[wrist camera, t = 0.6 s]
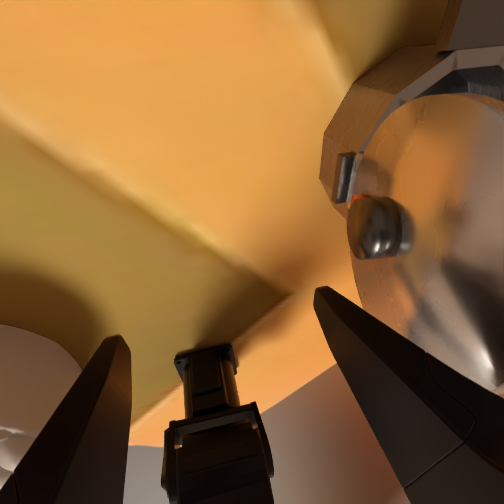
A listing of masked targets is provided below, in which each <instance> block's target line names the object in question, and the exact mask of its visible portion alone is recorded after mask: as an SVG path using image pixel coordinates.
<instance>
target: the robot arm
mask: <svg viewBox="0 0 504 504" xmlns="http://www.w3.org/2000/svg"><path fill="white" fill-rule="evenodd" d="M313 306H314V310H315V312H316V315H317V318H318V320H319V323H320V325H321V328H322V330H323V333H324V335H325V338H326V341H327V343H328V345H329V348H330V350H331V352H332V354H333V356H334V358H335V360H336V362H337V364H338V366H339V368H340V369H341V371H342V373H343V375H344V377H345V379H346V381H347V383H348V385H349V386H350V388H351V390H352V392H353V394H354V396H355V398H356V400H357V402H358V404H359V406H360V407H361V409H362V411H363V413H364V415H365V417H366V419H367V421H368V423H369V425H370V427H371V428H372V430H373V432H374V434H375V436H376V438H377V440H378V442H379V444H380V446H381V447H382V449H383V451H384V453H385V455H386V457H387V459H388V461H389V463H390V464H391V466H392V468H393V470H394V472H395V474H396V476H397V477H398V480H399V482H400V484H401V485H402V487H403V488H404V492H405V493H406V495H407V497H408V499H409V501H410V503H411V504H504V399H503V398H502V397H500V396H498V395H496V394H495V393H493V392H491V391H489V390H488V389H486V388H484V387H482V386H481V385H479V384H477V383H476V382H474V381H472V380H471V379H469V378H467V377H465V376H464V375H462V374H460V373H459V372H457V371H456V370H454V369H453V368H451V367H449V366H448V365H446V364H445V363H443V362H442V361H440V360H438V359H437V358H435V357H434V356H432V355H431V354H429V353H428V352H426V353H425V350H423V349H422V348H420V347H419V346H417V345H416V344H414V343H413V342H411V341H410V340H408V339H407V338H405V337H404V336H402V335H401V334H399V333H398V332H396V331H395V330H393V329H392V328H390V327H389V326H387V325H386V324H384V323H383V322H381V321H380V320H378V319H377V318H375V317H374V316H372V315H371V314H369V313H368V312H366V311H365V310H363V309H362V308H360V307H359V306H357V305H356V304H354V303H353V302H351V301H350V300H348V299H347V298H345V297H344V296H342V295H341V294H339V293H338V292H336V291H335V290H333V289H332V288H330V287H329V286H322V287H318V288H316V289H315V294H314V302H313ZM174 364H175V366H176V369H177V371H178V373H179V375H180V377H181V379H182V381H183V386H184V406H185V419H182V420H178V421H175V420H173V421H170V422H169V428H168V429H166V430H165V431H164V457H163V466H162V474H161V487H162V488H163V489H164V490H165V491H166V492H167V496H168V498H169V503H170V504H274V499H273V494H272V489H271V483H270V478H272V477H273V476H274V467H273V459H272V454H271V449H270V445H269V442H268V438H267V435H266V432H265V429H264V426H263V423H262V420H261V416H260V413H259V410H258V407H257V404H256V402H251V403H250V404H246V405H242V406H240V401H239V396H238V391H237V386H236V381H235V376H234V375H236V374H237V370H236V364H235V359H234V353H233V348H232V345H231V344H226V345H222V346H218V347H214V348H210V349H207V350H203V351H199V352H195V353H191V354H187V355H183V356H179V357H176V358H175V359H174ZM131 409H132V379H131V352H130V349H129V347H128V345H127V344H126V342H125V340H124V339H123V337H122V336H121V335H119V334H118V335H113V336H109V337H106V338H105V339H104V340H103V342H102V343H101V345H100V346H99V347H98V349H97V350H96V352H95V353H94V355H93V356H92V358H91V359H90V360H89V362H88V363H87V365H86V366H85V368H84V369H83V371H82V372H81V374H80V375H79V376H78V378H77V379H76V381H75V382H74V384H73V385H72V387H71V388H70V389H69V391H68V392H67V394H66V395H65V397H64V398H63V400H62V401H61V403H60V404H59V405H58V407H57V408H56V410H55V411H54V413H53V414H52V416H51V417H50V418H49V420H48V421H47V423H46V424H45V426H44V427H43V429H42V430H41V432H40V433H39V434H38V436H37V437H36V439H35V440H34V442H33V443H32V445H31V446H30V447H29V449H28V450H27V452H26V453H25V455H24V456H23V458H22V459H21V461H20V462H19V463H18V465H17V466H16V468H15V469H14V473H13V474H11V475H10V476H9V478H8V479H7V481H6V482H5V484H4V485H3V486H2V488H1V489H0V504H123V494H124V484H125V473H126V463H127V452H128V442H129V431H130V420H131ZM180 445H182V447H180Z"/></svg>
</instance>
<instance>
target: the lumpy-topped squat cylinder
mask: <svg viewBox="0 0 504 504" xmlns="http://www.w3.org/2000/svg"><path fill="white" fill-rule="evenodd" d="M81 372H82V369H81V368H80V366H79V365H78V363H77V362H76V361H75V360H74V358H73V357H72V356H71V355H70V354H69V353H68V352H67V351H66V350H65V349H64V348H63V347H61V346H60V345H59V344H58V343H56V342H54V341H53V340H50V339H48V338H46V337H43V336H41V335H38V334H35V333H33V332H30V331H27V330H24V329H20V328H17V327H13V326H8V325H2V324H0V489H1V488H2V486H3V485H4V484H5V482H6V481H7V479H8V478H9V476H10V475H11V474H13V473H14V469H15V468H16V466H17V465H18V463H19V462H20V461H21V459H22V458H23V456H24V455H25V453H26V452H27V450H28V449H29V447H30V446H31V445H32V443H33V442H34V440H35V439H36V437H37V436H38V434H39V433H40V432H41V430H42V429H43V427H44V426H45V424H46V423H47V421H48V420H49V418H50V417H51V416H52V414H53V413H54V411H55V410H56V408H57V407H58V405H59V404H60V403H61V401H62V400H63V398H64V397H65V395H66V394H67V392H68V391H69V389H70V388H71V387H72V385H73V384H74V382H75V381H76V379H77V378H78V376H79V375H80V374H81Z"/></svg>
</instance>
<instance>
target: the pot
mask: <svg viewBox="0 0 504 504" xmlns="http://www.w3.org/2000/svg"><path fill="white" fill-rule="evenodd" d="M465 92H467V93H475V94H482V95H487V96H489V97H492V98H495V99H498V100H501V101H503V102H504V0H449V2H448V6H447V9H446V12H445V16H444V19H443V22H442V26H441V29H440V32H439V36H438V39H437V42H436V45H426V46H414V47H403V48H399V49H398V50H396V51H395V52H394V53H392V54H391V55H390V56H388V57H387V58H386V59H384V60H383V61H382V62H381V63H379V64H378V65H377V66H375V67H374V68H373V69H371V70H370V71H369V72H367V73H366V74H365V75H363V76H362V77H361V78H360V79H358V80H357V81H356V82H354V83H353V84H352V86H351V88H350V89H349V91H348V93H347V95H346V96H345V98H344V100H343V102H342V103H341V105H340V107H339V109H338V110H337V112H336V114H335V115H334V117H333V119H332V121H331V122H330V124H329V126H328V128H327V129H326V131H325V133H324V139H323V148H322V157H321V167H320V176H319V179H320V181H321V183H322V185H323V187H324V189H325V191H326V193H327V194H328V196H329V198H330V200H331V202H332V204H333V206H334V208H335V209H336V210H337V211H338V212H339V213H340V214H341V215H342V216H343V217H344V218H345V219H346V220H347V217H348V212H347V211H346V209H347V204H348V198H349V193H350V188H351V182H352V177H353V172H354V167H355V161H356V156H357V152H360V151H364V152H365V150H366V148H367V145H368V143H369V142H370V140H371V138H372V137H373V135H374V133H375V132H376V131H377V129H378V128H379V127H380V125H381V124H382V123H383V122H384V120H385V119H386V118H387V117H388V116H389V115H390V114H391V113H393V112H394V111H395V110H396V109H398V108H399V107H400V106H402V105H404V104H406V103H407V102H409V101H411V100H413V99H416V98H420V97H423V96H426V95H439V94H452V93H465Z"/></svg>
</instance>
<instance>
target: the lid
mask: <svg viewBox="0 0 504 504" xmlns="http://www.w3.org/2000/svg"><path fill="white" fill-rule="evenodd" d="M346 211H347V212H348V217H347V235H348V241H349V245H350V253H351V261H352V268H353V273H354V278H355V283H356V287H357V290H358V294H359V297H360V300H361V303H362V306H363V309H364V310H365V311H366V312H368V313H369V314H371V315H372V316H374V317H375V318H377V319H378V320H380V321H381V322H383V323H384V324H386V325H387V326H389V327H390V328H392V329H393V330H395V331H396V332H398V333H399V334H401V335H402V336H404V337H405V338H407V339H408V340H410V341H411V342H413V343H414V344H416V345H417V346H419V347H420V348H422V349H423V350H425V353H426V352H428V353H429V354H431V355H432V356H434V357H435V358H437V359H438V360H440V361H442V362H443V363H445V364H446V365H448V366H449V367H451V368H453V369H454V370H456V371H457V372H459V373H460V374H462V375H464V376H465V377H467V378H469V379H471V380H472V381H474V382H476V383H477V384H479V385H481V386H482V387H484V388H486V389H488V390H489V391H491V392H493V393H495V394H496V395H497V394H503V393H504V102H503V101H501V100H498V99H495V98H492V97H489V96H487V95H482V94H475V93H467V92H465V93H452V94H439V95H426V96H423V97H420V98H416V99H413V100H411V101H409V102H407V103H406V104H404V105H402V106H400V107H399V108H398V109H396V110H395V111H394V112H393V113H391V114H390V115H389V116H388V117H387V118H386V119H385V120H384V122H383V123H382V124H381V125H380V127H379V128H378V129H377V131H376V132H375V133H374V135H373V137H372V138H371V140H370V142H369V143H368V145H367V148H366V150H365V152H364V151H360V152H357V156H356V161H355V167H354V172H353V177H352V182H351V188H350V193H349V198H348V204H347V209H346Z"/></svg>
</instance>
